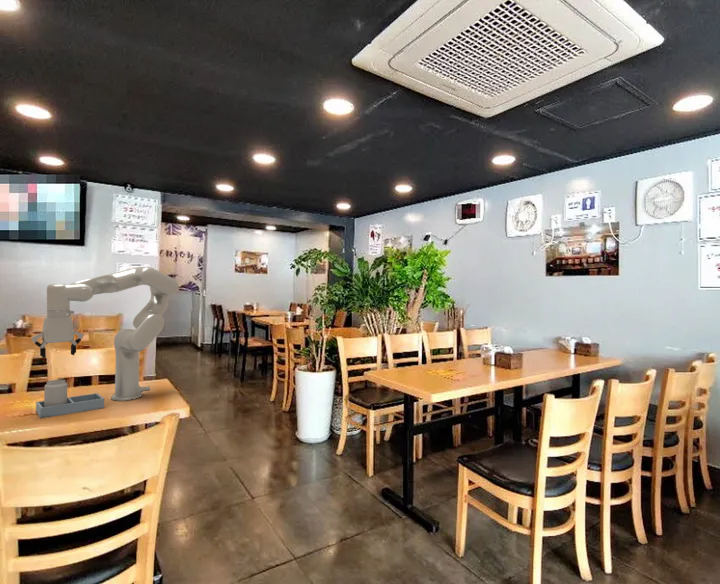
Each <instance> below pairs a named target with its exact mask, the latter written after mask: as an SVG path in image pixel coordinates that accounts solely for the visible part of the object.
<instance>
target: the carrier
mask: <svg viewBox="0 0 720 584" xmlns="http://www.w3.org/2000/svg"><path fill="white" fill-rule="evenodd" d="M100 409H101V410H102V409H105V398H104V396H102V395H100V394H99V393H98V392H95V393H89V394H81V395H75V396H69V397H68V396H67V404H62V405H56V406H49V407H44V400H40V401H36V402H35V412H37V413H36V414H37V415H38V417H39V419H46V417H47V418H52V416H53V417H57V416H65V415H70V414H76V413H81V412H83V413H84V412H88V411H94V410H100Z"/></svg>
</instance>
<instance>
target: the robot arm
mask: <svg viewBox="0 0 720 584" xmlns="http://www.w3.org/2000/svg"><path fill="white" fill-rule="evenodd" d="M139 286H148V287H149V289H150V299H149V301H148V302H147V303H146V304H145V306H144V307H143V308H141V310H140V311H139V312H138V313H137V314H136V315H135V317H134V318H133V320H132V325H133V327H134V328H135V329H131V328H124V329H121V330H119V331H118V332H117V333H116V334H115V336H114V338H113V346H114V352H115V371H114V372H115V373H114V374H115V375H114V377H115V378H114V394H111V396H110V399H111V400H112V401H115V400H116V401H115V402H122V401H123V402H124V401H126V400H127V401H132V400H131V399H133V400H137V399H139V397H140V398H141V396H142V397H143V392H148V391H151V387H150V386H140V383H139V382H140V380H139V379H140V352H142V351H144V350H145V349H147V348H148V346H149V345H150V344H151V343H153V341H155V339H156V337H157V336H158V335H159V334H160V332H161V331H162V330H163V328H164V326H165V319H164V317H163V314H164V313H165V312H166V310H167V309H168V306H169V297H170V296H173V295H175V294H177V293H178V291H179V289H180V286H179V283H178V281H177V280H176V279H175V278H174V277H171V276H169V275H168V274H165V273H164V272H161V271H160V270H158V269H155V268H154V267H151V266H136V267H132V268H129V269H125V270H120V271H117V272H113V273H109V274H104V275H101V276H97V277H96V276H95V277H91V278H88V279H84V280H79V281H76V282H72V283H69V284H66V283H65V284H64V283H51V284H47V287H46V317H44V319H43V322H42V323H43V324H42V329H41V330H42V331H41V332H40V333H38V334H37V335H34V336H32V337H30V338H31V341H32V342H33V344H34V345H35V346H37V347H39V354H40V355H39V356H40V357H41V358H42V359H45V358H46V354H47V353H46V350H47V349H46V346H47V344H52V343H53V344H55V343H66V342H68V343H69V342H70V343H71V345H70V355H72V356H75V354H76V353H77V345H78V344H80V342H81V341H82V339H83V338H84V336H85V334H83V333H81V332H79V331H76V330H74V329H75V328H74V322H73V318H72V316H71V315H74V314H75V311H74V310H71V309H70V308H71V306H70V305H71V304H70V303H71V302H80V303H81V302H88V301H90V300H91V299H92V298H93V297H94V296H97V295H100V294H112V293H119V292H123V291H125V290H128V289H132V288H136V287H139ZM75 335H76V336H78V337H77V339H75ZM38 339H41V341H42V342H41V343H40V342H39V341H38ZM136 398H137V399H136ZM127 401H126V402H127Z"/></svg>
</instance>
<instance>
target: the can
mask: <svg viewBox="0 0 720 584" xmlns="http://www.w3.org/2000/svg"><path fill="white" fill-rule="evenodd" d="M43 395H44V398H43V399H44V400H43V401H44V407H49V406H56V405H62V404H67V397H68V383H67V380H66V379H52V380H48V381H46V384H45V385H44V394H43Z"/></svg>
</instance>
